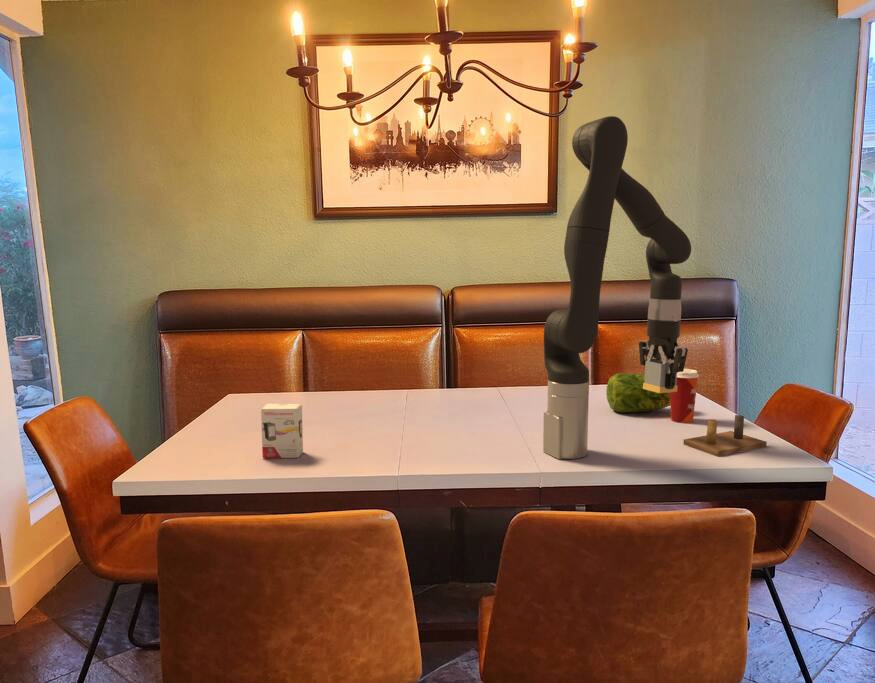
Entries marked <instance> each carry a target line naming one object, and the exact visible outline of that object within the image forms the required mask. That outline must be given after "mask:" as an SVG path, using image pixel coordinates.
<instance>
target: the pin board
mask: <svg viewBox="0 0 875 683" xmlns="http://www.w3.org/2000/svg"><path fill="white" fill-rule="evenodd" d="M733 424H734V426H733V431H732V430H730V431H729V430H728V431H724V432H718V433H717V429H718V420H716V419H707V429H706V430H707V431H706V435H702V436H695V437H691V438H690V437H689V438H683V442H682V443H683V445H684V446H688V447H690V448H693V449H696V450H698V451H702V452H705V453H707V454H709V455H713V456H715V457H722V456H727V455H731V454H737V453H742V452H746V451H751V450H757V449H761V448H767V445H768V441H765V440H762V439H759V438H757V437H756V438H755V437H752V436H748V435H745V434H744V427H745V426H744V424H745V416H744V415H742V414H735V415H734V423H733Z"/></svg>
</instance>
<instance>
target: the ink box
mask: <svg viewBox="0 0 875 683" xmlns="http://www.w3.org/2000/svg"><path fill="white" fill-rule="evenodd" d="M260 412H261V414H260V415H261V417H260V419H261V443H262V444H261V445H262V446H261V447H262V449H261V450H262V459H263V458H264V459H267V458H269V459H273V458H274V459H280V458H283V459H293V458H294V459H295V458H296V459H297V458H299V457H300V456H301V455H302V454H303V453H304V440H303V439H304V436H303V432H304V431H303V430H304V428H303V404H300V403H266V405H264V406H263V407H262V408H261V409H260Z"/></svg>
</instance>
